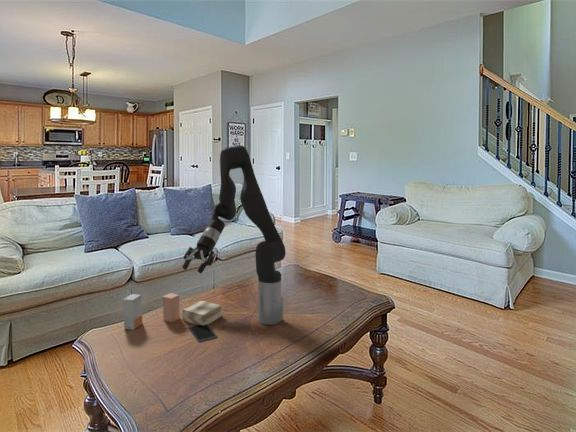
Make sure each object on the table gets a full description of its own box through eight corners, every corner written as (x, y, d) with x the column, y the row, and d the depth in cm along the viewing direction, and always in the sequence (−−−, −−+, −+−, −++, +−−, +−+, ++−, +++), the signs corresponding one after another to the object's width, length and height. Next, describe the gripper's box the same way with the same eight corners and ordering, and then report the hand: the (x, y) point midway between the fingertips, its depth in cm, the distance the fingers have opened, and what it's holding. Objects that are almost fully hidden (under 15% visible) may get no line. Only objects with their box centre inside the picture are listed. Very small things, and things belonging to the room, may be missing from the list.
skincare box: (134, 330, 144) (132, 300, 142) (124, 329, 144) (122, 299, 143) (143, 323, 149) (141, 294, 148) (133, 322, 150) (131, 293, 148)
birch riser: (221, 316, 157) (221, 305, 156) (203, 327, 148) (203, 315, 147) (201, 311, 162) (200, 300, 161) (182, 321, 153) (182, 309, 152)
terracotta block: (179, 318, 155) (179, 295, 153) (171, 322, 151) (170, 298, 149) (171, 315, 157) (171, 293, 155) (163, 320, 153) (162, 296, 151)
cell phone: (199, 343, 135) (198, 341, 135) (187, 328, 146) (187, 326, 146) (218, 338, 139) (218, 337, 138) (205, 324, 150) (205, 322, 150)
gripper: (192, 232, 171) (174, 263, 162) (217, 236, 164) (199, 269, 156) (200, 242, 176) (183, 272, 168) (225, 246, 169) (208, 277, 161)
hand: (191, 270), depth 162 cm, fingers open, 8 cm apart
